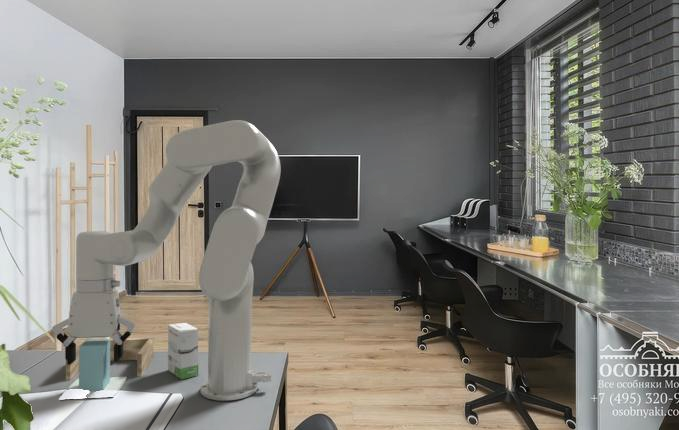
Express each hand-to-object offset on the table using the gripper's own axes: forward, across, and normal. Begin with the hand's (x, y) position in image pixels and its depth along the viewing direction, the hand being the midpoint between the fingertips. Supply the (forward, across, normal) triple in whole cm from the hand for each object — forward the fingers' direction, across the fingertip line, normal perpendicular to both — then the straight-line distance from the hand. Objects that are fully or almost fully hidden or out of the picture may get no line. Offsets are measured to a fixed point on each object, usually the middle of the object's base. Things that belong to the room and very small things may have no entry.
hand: (94, 361), depth 107 cm
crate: (+6, 0, -14) cm, 15 cm away
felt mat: (+6, 0, 0) cm, 6 cm away
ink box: (+7, -18, -8) cm, 21 cm away
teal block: (+6, 0, 0) cm, 6 cm away
